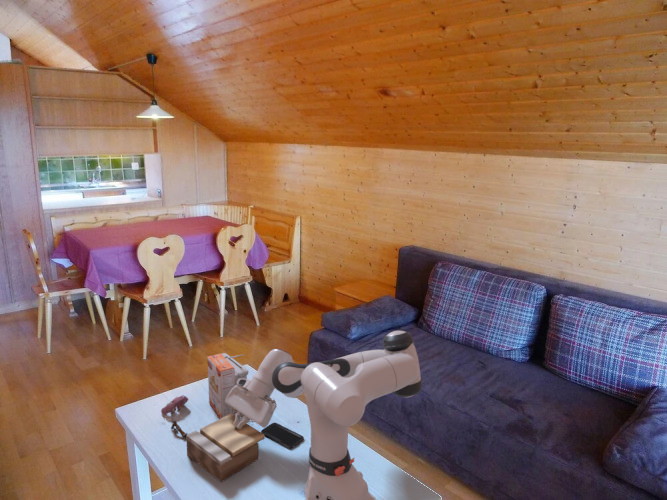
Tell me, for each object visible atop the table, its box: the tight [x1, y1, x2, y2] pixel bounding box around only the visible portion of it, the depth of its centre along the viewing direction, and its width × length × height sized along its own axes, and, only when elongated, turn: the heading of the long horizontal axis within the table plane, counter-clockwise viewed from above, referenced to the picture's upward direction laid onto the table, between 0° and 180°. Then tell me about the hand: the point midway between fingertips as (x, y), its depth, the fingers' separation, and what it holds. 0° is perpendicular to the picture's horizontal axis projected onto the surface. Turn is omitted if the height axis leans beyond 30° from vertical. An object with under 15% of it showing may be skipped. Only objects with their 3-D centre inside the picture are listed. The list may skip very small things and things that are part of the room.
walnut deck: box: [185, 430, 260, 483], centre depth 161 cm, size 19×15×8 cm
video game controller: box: [160, 394, 189, 415], centre depth 187 cm, size 10×5×7 cm, turn 149°
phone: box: [260, 422, 305, 450], centre depth 174 cm, size 8×1×15 cm
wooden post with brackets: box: [170, 419, 189, 439], centre depth 174 cm, size 2×8×4 cm, turn 53°
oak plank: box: [199, 414, 265, 457], centre depth 164 cm, size 18×13×2 cm
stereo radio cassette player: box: [221, 352, 249, 385], centre depth 200 cm, size 21×8×20 cm, turn 40°
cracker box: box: [206, 352, 236, 419], centre depth 186 cm, size 14×6×21 cm, turn 33°
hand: (236, 427), depth 165 cm, fingers closed, pressing on oak plank
